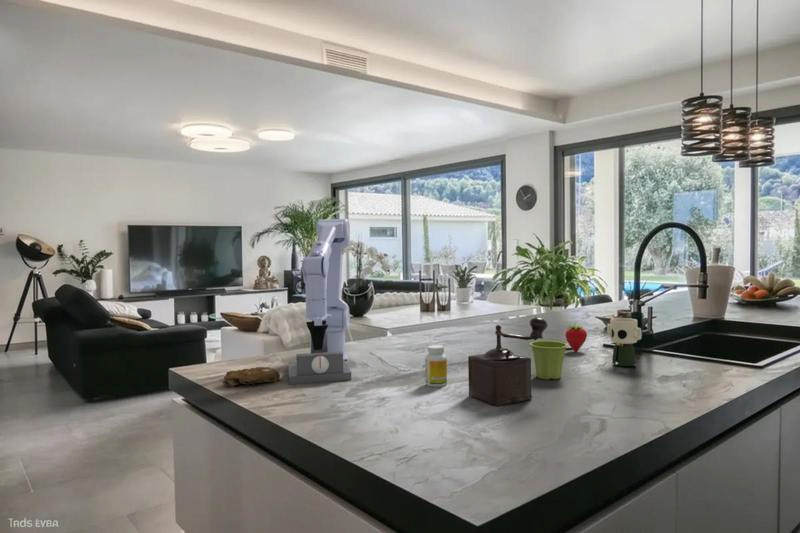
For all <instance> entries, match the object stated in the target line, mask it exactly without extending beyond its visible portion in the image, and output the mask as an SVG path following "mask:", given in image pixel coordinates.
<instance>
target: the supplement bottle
mask: <svg viewBox="0 0 800 533" xmlns="http://www.w3.org/2000/svg"><path fill="white" fill-rule="evenodd" d="M427 352H428V354H426V356H425V358H424V359H425V360H424V362H425V363H424V364H425V367H424V368H425V370H424V371H425V372H424V374H425V385H426V386H427V387H432V388H441V387H445V386H446V385H447V384H448V365H447V364H448V362H447V361H448V357H447V355H446V354H444V352H445V346H444V345H442V344H438V345H437V344H435V345H434V344H432V345H428V346H427Z"/></svg>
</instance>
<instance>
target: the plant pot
mask: <svg viewBox="0 0 800 533" xmlns="http://www.w3.org/2000/svg"><path fill="white" fill-rule="evenodd" d="M529 345H530V346H531V350H532V353H533V360H534V367H535V368H534V370H535V375H536V377H537V378H538V379H543V380H550V379H552V380H558V379H560V378H561V377H562V371H563V362H564V357H565V352H566V349H567V348H568V344H567V343H565V342H562V341H555V340H534V341H531V342H530V343H529Z"/></svg>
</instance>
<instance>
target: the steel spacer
mask: <svg viewBox="0 0 800 533" xmlns="http://www.w3.org/2000/svg"><path fill="white" fill-rule="evenodd" d="M324 352H328V348H327V333H326V332H325V335H324V340H323V347H322V350H314V347H313V343H312V337H311V334H310V333H309V353H324Z"/></svg>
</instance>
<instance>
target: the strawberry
mask: <svg viewBox="0 0 800 533" xmlns="http://www.w3.org/2000/svg"><path fill="white" fill-rule="evenodd" d="M575 324H576V323H574V325H569V326H568V329H567V330H566V331H565V334H564V335H565V340H566V342H567V343H568V346H569V347H570V348H571V349H572V350H573V351H574V352H578V351H579V350H580V349H581V347H582V346H583V345H584V343H585V342H586V340H587V336H588V334H587V333H588V332H587V331H586V329H583V326H582V325H575Z"/></svg>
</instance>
